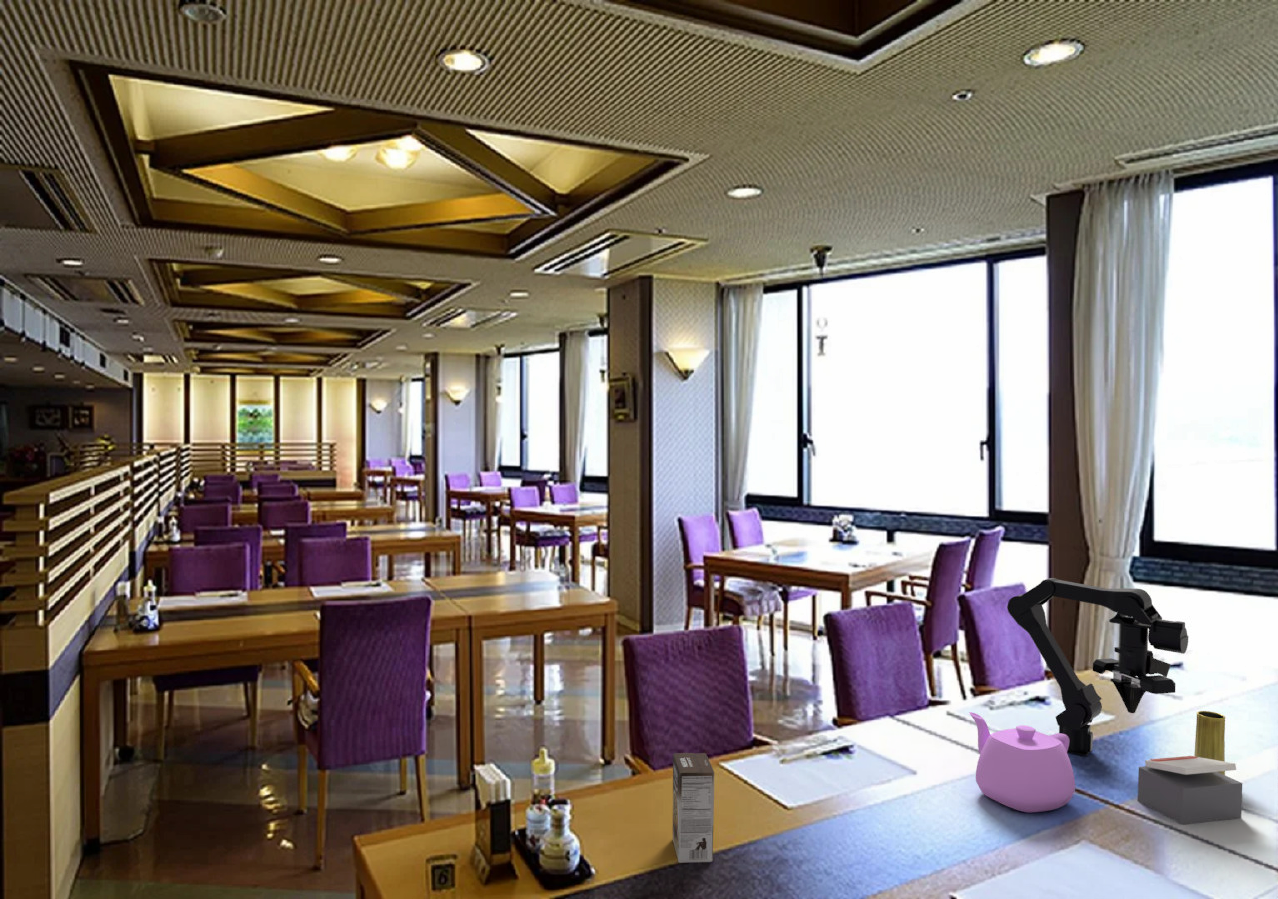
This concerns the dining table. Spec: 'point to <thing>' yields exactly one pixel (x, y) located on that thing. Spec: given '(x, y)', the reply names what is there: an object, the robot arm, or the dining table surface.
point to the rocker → (1189, 765)
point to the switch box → (1190, 795)
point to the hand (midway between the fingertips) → (1131, 712)
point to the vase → (1210, 736)
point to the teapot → (1024, 767)
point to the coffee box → (693, 807)
